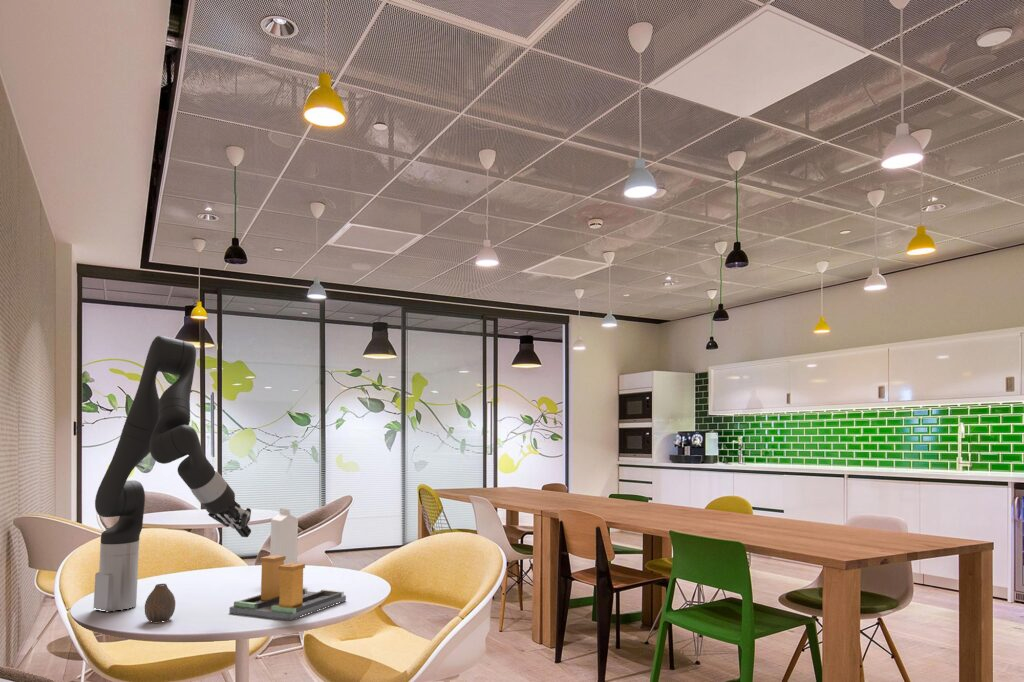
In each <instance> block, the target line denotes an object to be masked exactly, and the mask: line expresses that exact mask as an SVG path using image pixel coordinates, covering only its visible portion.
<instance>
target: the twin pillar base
mask: <svg viewBox="0 0 1024 682" xmlns="http://www.w3.org/2000/svg"><path fill="white" fill-rule="evenodd" d="M305 568H306V563H299V562H297V563H288V564H284V565H280V566H278V570H280V595H279V596H278V597H275V598H271V599H268V600H261V594H258V595H255V596H251V597H248V598H245V599H242V600H235V601H233V605H232V606H229V612H228V613H229V614H232V613H233V614H234V615H239V616H241V615H242V616H250V617H257V618H265V619H273V620H280V621H287V622H288V621H291V622H292V621H294V619H295V620H297V619H299V618H298V617H300V616H302V615H305V614H308V613H311V612H314V611H317V610H319V609H323V608H325V607H328V606H331V605H333V604H336V603H339V602H342V601H345V600H347V595H345V591H343V590H342V591H341V590H334V589H333V590H331V589H321V590H320V591H319V590H318V591H317V592H316V591H308V588H307V587H304V569H305ZM345 602H346V601H345ZM342 603H343V602H342ZM339 604H340V603H339ZM336 605H337V604H336ZM331 607H332V606H331ZM328 608H329V607H328ZM325 609H326V608H325ZM323 610H324V609H323ZM317 612H318V611H317ZM314 613H315V612H314ZM311 614H312V613H311ZM296 618H297V619H296ZM300 618H301V617H300Z"/></svg>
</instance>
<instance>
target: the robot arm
mask: <svg viewBox="0 0 1024 682" xmlns="http://www.w3.org/2000/svg"><path fill="white" fill-rule="evenodd" d="M196 362H197V351H196V346H195V345H194V343H191V342H188V341H186V340H182V339H177V338H174V337H170V336H169V337H168V336H164V335H157V336H156V337H154V338H153V340H152V342H151V344H150V346H149V349H148V351H147V355H146V357H145V363H144V366H143V369H142V373H141V376H140V380H139V384H138V387H137V389H136V392H135V396H134V397H133V401H132V403H131V406H130V409H129V410H128V414H127V416H126V419H125V421H124V423H123V427H122V429H121V433H120V437H119V439H118V443H117V445H116V448H115V451H114V454H113V457H112V459H111V461H110V464H109V465H108V467H107V469H106V471H105V474H104V476H103V478H102V480H101V482H100V484H99V487H98V489H97V491H96V495H95V499H94V507H95V512H96V514H97V515H99V516H100V517H101V518H115V517H119V518H118V520H117V522H116V523H114V525H112V526H110V527H109V528H107V529H104V531H102V533H101V534H100V545H99V546H100V547H99V549H100V551H99V564H98V565H99V566H98V567H99V568H98V571H97V572H96V573H95V575H94V577H95V578H94V590H93V591H94V593H93V609H94V608H96V609H101V610H105V611H113V612H115V611H114V610H121V611H124V610H123V609H127V610H130V609H129V608H131V609H133V608H136V606H137V600H138V598H137V597H138V576H139V573H138V572H139V549H140V536H141V532H142V528H143V523H144V513H145V505H146V504H145V503H146V494H145V489H144V486H143V484H142V483H141V482H139V481H137V480H128V478H129V477H130V474H131V473H132V471H134V469H135V468H136V467H137V466H138V465H139V464H140V463H141V462H142V461H143V460H144V459H145V458H146V457H147V456H148V455H149V454H150V455H151V457H152V459H153V460H154V461H155V462H157V463H159V464H164V465H165V464H169V463H172V462H174V461H177V460H180V459H181V458H184V457H185V458H184V459H183V460H182V461H181V462H180V463H179V464H178V466H177V474H178V476H179V477H180V478H181V479H182V481H183V482H184V483H185V485H187V486H188V488H189V489H190V491H191V493H192V495H193V496H194V497H195V499H197V501H198V503H200V504H201V505H202V507H203V508H204V509H205V511H207V513H208V514H207V515H208V516H209V517H211V518H212V519H213V520H215V521H216V522H218V523H220V524H221V525H223V526H225V527H226V528H228V527H230V528H231V529H232V530H233V529H235V531H236V532H237V534H239V536H240V537H241V538H248V537H250V535H251V533H252V529H251V528H250V526H249V525H248V524H249V523H250V520H251V516H252V515H251V514H252V509H251V508H249V507H247V508H246V509H244V508H242V507H241V504H239V503H238V502H237V501H236V494H235V492H234V489H232V487H231V486H230V485H229V484H228V483H227V480H225V479H224V477H223V476H222V475H221V474H220V473H219V471H217V470H216V468H214V466H213V465H212V464H211V463H210V461H209V460H208V459H207V456H206V454H205V453H204V450H203V448H202V445H201V441H200V439H199V435H198V433H197V431H196V430H195V428H194V427H192V426H190V423H191V391H192V387H193V386H192V385H193V381H194V377H195V376H194V375H195V368H196V367H195V366H196ZM158 372H160V373H165V374H169V375H175V376H179V377H178V378H177V379H176V381H174V382H173V384H171V385H169V387H168V388H167V389H165V391H163V392H162V394H161V396H160V398H159V393H158V389H157V382H156V381H157V376H158ZM132 607H133V608H132Z"/></svg>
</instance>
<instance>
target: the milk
mask: <svg viewBox="0 0 1024 682" xmlns="http://www.w3.org/2000/svg"><path fill="white" fill-rule="evenodd" d="M298 534H299V518H297V517H296V516H294V515H292V514H291V509H287V508H283V507H279V513H277V515H275V516H274V517H272V518H271V521H270V547H269V548H270V550H269V551H270V552H269V553H270V554H269V555H281V556H286V559H285V560H284V564H288V563H298V538H299V537H298Z"/></svg>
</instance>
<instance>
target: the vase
mask: <svg viewBox="0 0 1024 682" xmlns="http://www.w3.org/2000/svg"><path fill="white" fill-rule="evenodd" d="M175 609H176V597H175V595H174V593H173V592H172V591H171V590H170V588H169V587H168V585H167V583H158V584H155V586H154V587H153V589H152V591H151V592H150V593H149V594H148V596H147V598H146V600H145V603H144V614H145V617H146V619H147V620H148V622H150V621H152V622H161V623H163V622H162V621H165V622H167V620H168V621H169V620H170V619H171V617H172V616H173V615H174V613H175ZM152 622H151V623H152Z"/></svg>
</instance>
